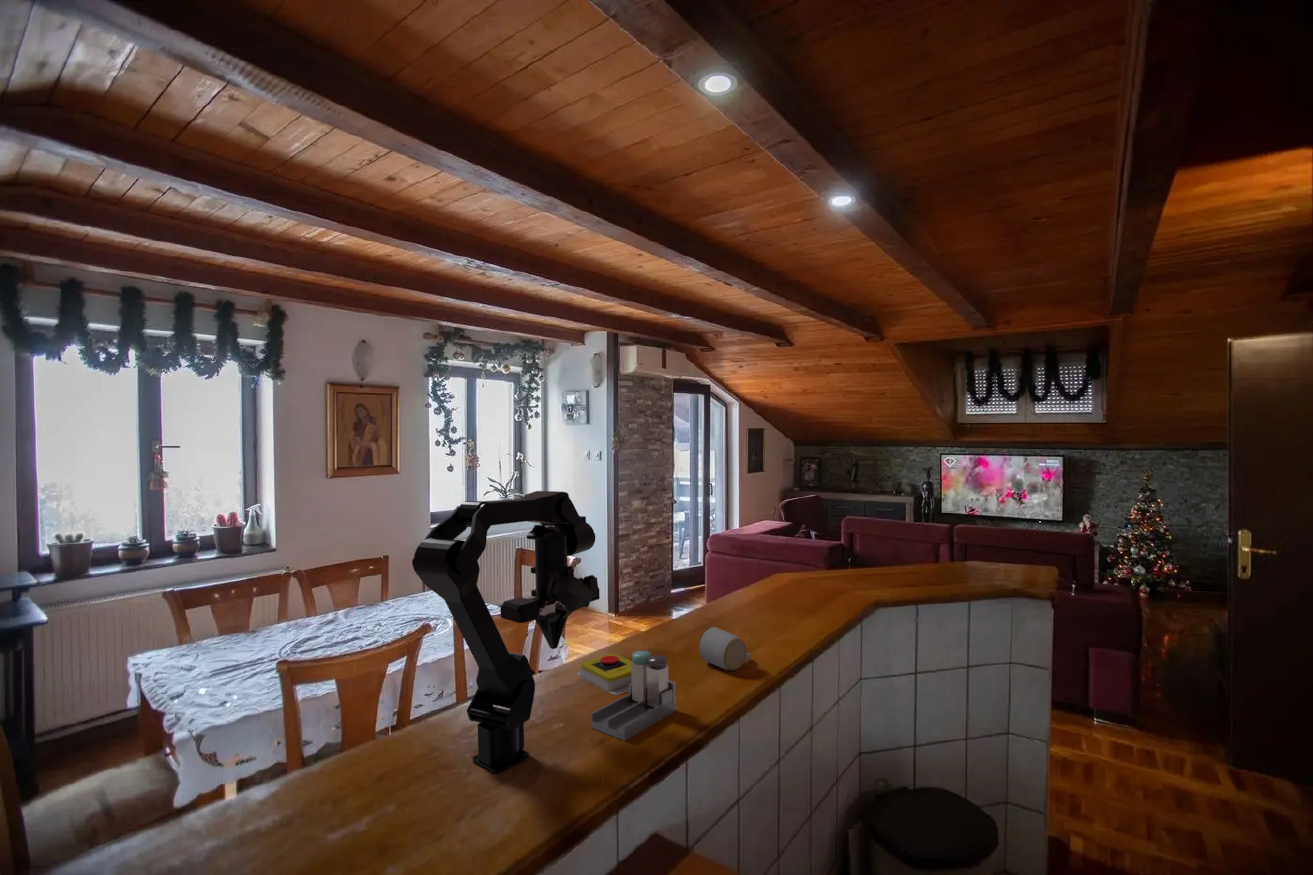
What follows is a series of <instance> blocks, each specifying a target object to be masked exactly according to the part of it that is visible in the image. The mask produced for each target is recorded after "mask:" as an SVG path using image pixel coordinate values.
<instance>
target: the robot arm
mask: <svg viewBox="0 0 1313 875" xmlns="http://www.w3.org/2000/svg"><path fill="white" fill-rule="evenodd" d="M522 522H529V523H537V524H535V525H534V526H533V528H532V529H531V530H529V532H528V533H527V534H526V539H527V540H534V563H535V564H534V566H532V567H530V573H531V574H534V575H535V589H531V593H530V594H531V597H535V598H534V599H530V598H526V597H521V596H520V597H519V596H518V597H516V598H511V599H508V600H504V601H503V602H502V604H501V605H500V608H499V609H500V619H502V620H503V619H504V620H507V621H510V622H514V623H516V624H517V623H518V624H525V623H529V622H531V621H535V622H536V624H537V625H538V626H539V629H540V630H541V633H542V634H543V636H544V639H545V641H546V643H547V644H548V646H549V648H550V649H552V650H555V649H557V648H558V646H559V644H560V640H561V637H562V634H563V631H564V630H563V629H565V628H564V627H565V624H566V622H567V619H568V617H570V616H571V614H573V613H574V612H576V611H578V610H579V609H583V608H588V607H590V605H591V604H590V603H591V602H594V601H598V600H600V588H599V585H598V584H599V582H598V577H596V576H595V575H593V574H591V575H587V576H584V577H576V576H575V575H574V573H575V572H574V571H575V570H574V568H573V566H572V565H568V557H570V556H574V555H576V554H580V553H584V552H586V551H589V550H591V549H592V548H593V546H594V545H595V542H596V533H595V531H594V529H593V527H592V526H591V525H590V524H589V523H588V522H587V516H585V515H583V516H581V515H580V514H579V512H578V510H577V508H576V507H575V505H574V503H573V501H572V499H571V498H570V496H569V493H568V492H566V491H555V490H554V491H549V490H548V491H547V490H536V491H533V492H530V493H527V494H525V495H524V496H522V497H520V498H512V499H498V500H497V499H496V500H484V501H482V500H481V501H480V500H465V501H463V502H460V503H459V504H458V505H457V506H456V507H455V509H454V510H453V511H452V513H451V514H450V515H449V516H447V517H446V518H445V519H443V521H441V522H439V523H438V524H437V525H436V526H435V527H433V528H431V530H430V532H428V534H427V535H426V537H425V538H424V540H422V541H421V542H420V544H419V545H418V546H417V548H416V550H415V552H414V555H413V558H412V560H411V562H412V563H411V564H412V565H411V566H412V568H413V571H414V572H415V574H416V575H417V577H418V578H419V579H420V580H421V581H422V583H423V584H424V585H425V586H426V587H427V588H428V589H430V590H431V591H432V592H434V593H435V594H436V595H438V596H439V597H441V599H443V601H444V602H445V604H446V606H447V608H448V610H449V612H450V614H451V615H452V618H453V620H454V622H455V624H456V626H457V627H458V629H459V631H460V633H461V635H462V637H463V639H464V641H465V643H466V645H467V647H468V649H469V651H470V653H471V655H472V657H473V659H474V660H475V662H476V665H477V667H478V671H477V675H476V678H475V679H476V681H475V682H476V685H477V690H476V691H475V694H474V695H473V698H472V699H471V701H470V703H469V705H468V707H467V709H466V714H467V716H468V717H467V718H468V719H469V721H470V722H476V723H477V752H478V753H477V754H476V755H474V756H472V762H473V763H476V764H477V765H479V766H482V767H483V768H485V769H486V770H488V771H489V772H490V771H491V772H492V773H494V774H498V773H501V772H503V771H504V770H506V769H508V768H510V767H512V766H513V765H516V764H518V763H520V762H521V761H523V760H525V759H527V758H528V757H529V756H530V752H529V751H527V750H524V749H525V723H526V722H527V721H529V720H530V719H531V714H532V709H533V708H532V707H533V703H534V698H535V692H536V682H535V678H534V676H533V675H535V673H536V672H535V671H534V670H533V669H532V668H531V665H530V662H529V659H528V658H527V656H526V655H525V654H519V653H515V652H511V651H509V650H508V648H507V646H506V644H505V642H504V640H503V638H502V635H501V633H500V631H499V629H498V628H497V625H496V623H495V621H494V619H493V616H492V614H491V612H490V611H489V608H488V606H487V603H486V602H485V600H484V598H483V596H482V594H481V591H480V589H479V588H478V579H479V577H480V576H479V575H480V571H481V568H480V564H479V562H478V560H479V559H480V557H481V556H482V555H483V553H484V551H485V550H486V548H487V539H488V538H487V536H488V531H489V530H490V528H491V526H499V525H508V524H515V523H522ZM539 524H540V525H539ZM467 528H470V533H469V534H468V536H467V537H466V539H465V540H462V539H456V538H458V537H459V536H460V535H461V534H462V533H464V532H465V531H466V530H467Z"/></svg>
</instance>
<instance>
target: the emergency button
mask: <svg viewBox="0 0 1313 875" xmlns="http://www.w3.org/2000/svg"><path fill="white" fill-rule="evenodd" d="M631 662H633V660H632V661H631V660H630V659H627V658H626V657H625V658H624V657H623V656H621V655H618V654H616V653H611V654H610V653H609V654H606V655H603V656H600V657H597V658H593V659H590V660H586V661H582V662H581V663H580V671H578V672H577V673H576V676H578V677H579V678H581V679H582V680H583V679H584V680H585V681H587V682H588V683H590V682H591V683H590V684H592V685H594V686H596V687H597V688H600V689H602V690H603V691H605V692H608V693H610V694H611V695H613V696H620V695H623V694H626V693H629V684H631V683H632V678H631Z"/></svg>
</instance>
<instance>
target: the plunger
mask: <svg viewBox="0 0 1313 875" xmlns="http://www.w3.org/2000/svg"><path fill="white" fill-rule="evenodd" d="M631 655H632V656H631V657H632V662H631V678H632V700H634V701H637V702H640V701H642V700H644V689H646V688H647V666H648V658H649V657H650V656H652V654H651V652H650V651H647V650H638V651H637V650H636V651H634V652H633V653H632V654H631Z"/></svg>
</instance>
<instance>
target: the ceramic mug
mask: <svg viewBox="0 0 1313 875" xmlns="http://www.w3.org/2000/svg"><path fill="white" fill-rule="evenodd" d="M699 654H700V657H701V659H702V660H704V662H706V663H708V664H711V665H714V666H716V667H717V668H718V667H719V668H721V669H723V670H726V671H730V672H731V671H737V670H738V669H740V668H741V667H742V666H743V665H744V663H745V662H750V660H751V654H749V653H748V652H747V646H746V643H745V641H744V640H742V638H740V637H739V636H737V635H736V634H733V633H730V632H728V631H727V630H726V631H725V630H724V629H721V628H719V627H715V626H712V627H710V628H708V629H707V630H706V631H705V632H704V633H703V635H702V636H701V639H700V642H699Z"/></svg>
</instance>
